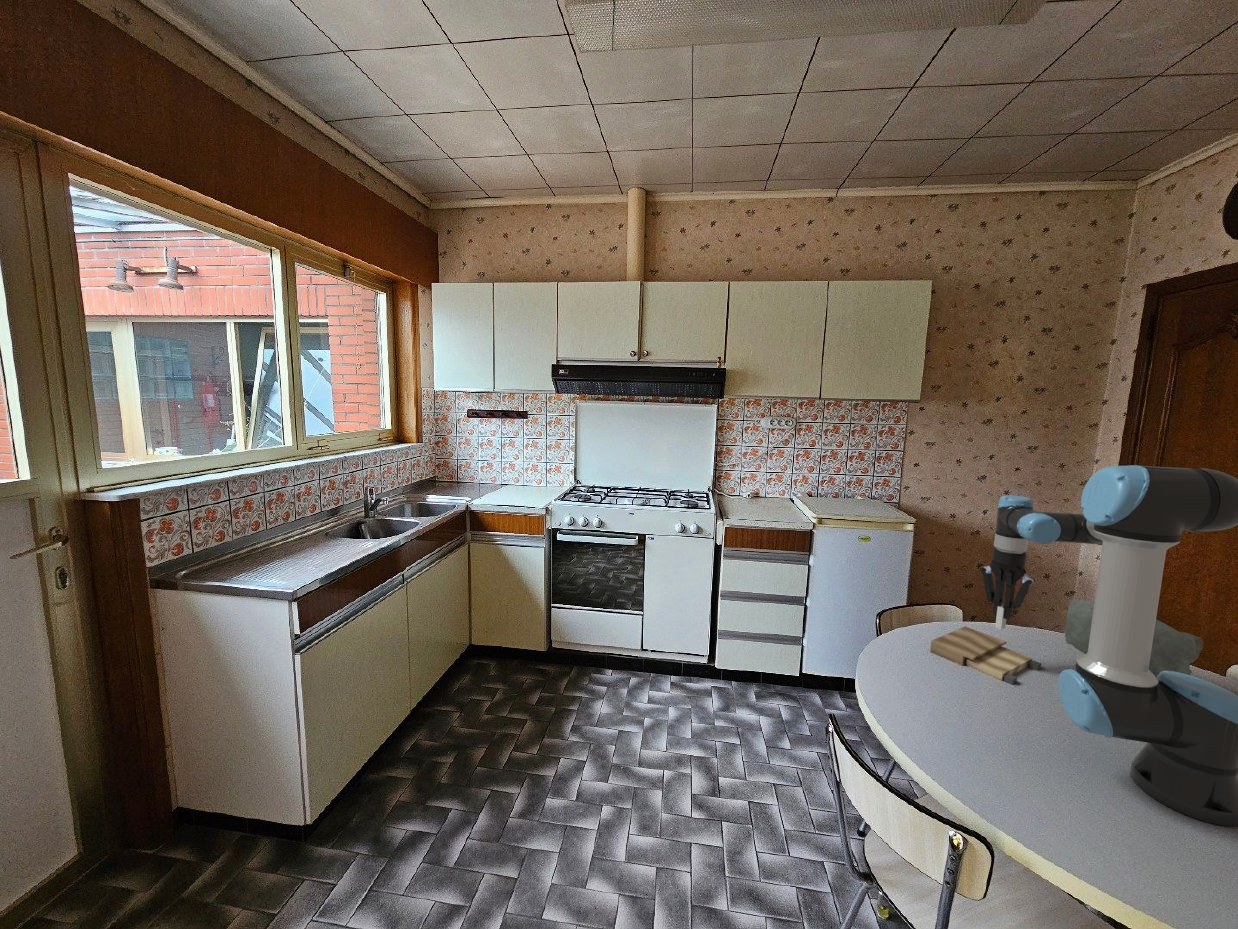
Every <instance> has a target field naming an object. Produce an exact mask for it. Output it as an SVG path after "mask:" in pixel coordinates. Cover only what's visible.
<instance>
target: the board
mask: <svg viewBox="0 0 1238 929" xmlns="http://www.w3.org/2000/svg"><path fill="white" fill-rule="evenodd" d="M1004 645H1007V640H1005V639H1001V638H998V637H997V636H996V637H995V636H994V635H990V634H987V633H984V632H982V631H980V630H976V629H974V628H972V627H968V626H963V627H960V628H957V629H956V630H954V631H951V632H948V633H946V634H944V635H942V636H939V637H936V638H934V639H932V640H931V641H930V650H929V653H931V654H934V655H937V656H939V657H941V656H942V657H941V658H943V657H944V658H943V659H946V660H947V661H951V662H953V663H955V662H957V663H958V665H960V666H964V665H966V664H965V663H966V662H967V659H968V658H969V659H972V660H974V659H976V658H978V657H980V656H982V655H984V654H986V653H988V652H990V651H992V650H994V649H996V648H998V647H1000V646H1002V647H1003V646H1004ZM957 663H956V664H957Z"/></svg>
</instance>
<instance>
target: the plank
mask: <svg viewBox="0 0 1238 929" xmlns="http://www.w3.org/2000/svg"><path fill="white" fill-rule="evenodd" d="M1031 661H1033V657H1031V656H1028V655H1025V654H1024V653H1023V654H1022V653H1020V652H1017V651H1014V650H1012V649H1009V648H1008V647H1007V648H1006V647H1004V646H1003V645H1002V646H1000V647H998V648H996V649H994V650H992V651H990V652H988V653H986V654H984V655H982V656H980V657H978V658H976V659H974V660H972V659H969V658H968V659H967V662H966V664H965V665H967V666H966V667H968V666H969V667H968V668H970V667H971V669H972V670H973V669H974V670H975V669H976V670H975V671H977V670H978V672H980V671H981V672H980V673H982V674H985V675H986V676H989V675H990V676H989V677H991V676H993V677H992V678H994V679H996V680H999V681H1001V682H1002V681H1004V676H1006V675H1007V674H1010V675H1013V676H1014V675H1015V674H1017V673H1019V672H1021V671H1023V670H1025V669H1026V668H1029V662H1031ZM1022 669H1023V670H1022ZM1020 670H1021V671H1020Z"/></svg>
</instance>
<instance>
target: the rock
mask: <svg viewBox="0 0 1238 929" xmlns="http://www.w3.org/2000/svg"><path fill="white" fill-rule="evenodd" d="M1094 602H1095V600H1092V601H1087V600H1081V599H1077V598H1076V599H1072V600H1071V601H1069V603H1068V609H1067V615H1066V620H1065V627H1064V628H1065V630H1064V637H1065V639H1064V640H1065V642H1066V644H1067V645H1070V646H1073V648H1075V649H1076V650H1078V651H1079V652H1080V653H1081V652H1082V653H1083V655H1084V654H1086V653H1088V647H1089V639H1090V632H1091V624H1092V617H1093V609H1094ZM1203 647H1204V641H1203V639H1202V638H1201V637H1200V636H1199V637H1198V636H1196V635H1194V634H1190V633H1189V632H1183V631H1178V630H1176V629H1175V628H1173V627H1171V626H1170V625H1168V624H1166V623H1164V622H1161V621H1160V620H1158V619H1157V618H1156V623H1155V629H1154V636H1153V643H1152V649H1151V656H1150V663H1149V671H1150V672H1151V673H1152V674H1153V675H1154V676H1155V677H1156V678H1157V675H1159V673H1160V672H1162V671H1174V672H1179V673H1183V674H1187V675H1191V674H1192V673H1193V672H1192V670H1191V669H1190V665H1191V663H1194V662H1195V661H1196V660H1197V659H1198V658H1199V656H1200V654H1201V652H1202V650H1203V649H1204V648H1203ZM1157 679H1158V678H1157Z"/></svg>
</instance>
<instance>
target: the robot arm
mask: <svg viewBox="0 0 1238 929" xmlns="http://www.w3.org/2000/svg"><path fill="white" fill-rule="evenodd" d="M1080 507H1081V509H1083V510H1082V513H1070V512H1069V513H1065V512H1050V511H1038V510H1034V500H1033V499H1032V498H1031V497H1026V496H1022V495H1013V494H1012V495H1011V494H1009V495H1007V494H1006V495H1002V496H1000V498H999V501H998V506H997V515H996V523H995V526H996V527H995V533H994V540H993V546H994V548H993V549H992V557H991V560H992V561H991V562H990V564H989V565H987V566H986V565H985V566H982V567H979V570H980V572H981V574H982V575H983V582H984V588H985V596H986V600H987V601H988V602H991V603H992V604H993V611H992V612H993V613H992V614H993V616H996V617H995V618H996V619H995V625H994V626H995V629H997V630H1000V631H1001V630H1003V629H1006V627H1007V620H1010V619H1011V617H1012V610H1016V609H1018V608H1020V607H1021V606H1022V604H1023V602H1024V599H1025V598H1026V596H1027V594H1028V591H1029V589H1030V588H1031V586H1032V585H1033V584H1035V583H1036V580H1035V578H1031V577H1030V576H1029V575H1028V574H1027V571H1026V562H1027V553H1026V552H1027V551H1028V546H1029V542H1032V543H1035V544H1039V545H1048V544H1051V543H1053V542H1055V543H1057V542H1060V543H1073V544H1076V543H1077V544H1087V545H1088V544H1089V545H1097V546H1101V552H1100V558H1099V559H1100V560H1099V565H1098V566H1099V567H1098V574H1097V581H1096V582H1097V583H1096V590H1095V597H1094V601H1095V602H1094V609H1093V617H1092V624H1091V632H1090V639H1089V647H1088V653H1086V654H1084V653H1083V654H1081V655H1079V656H1077V657H1076V662H1075V668H1074V669H1071V668H1068V669H1063V670H1062V671H1061V672H1060V673H1059V675H1058V679H1057V680H1058V681H1057V689H1058V693H1059V698H1060V700H1061V704H1062V707H1063V708H1064V710H1065V713H1066V715H1067V716H1068V717H1069V719H1070V720H1071V721H1072V723H1073V724H1074V725H1075V726H1076V727H1077V728H1079V729H1081V730H1082V731H1083V732H1086V733H1088V734H1094V735H1099V736H1103V737H1105V738H1108V739H1109V738H1111V739H1112V738H1114V739H1115V738H1116V739H1120V740H1121V739H1122V740H1129V741H1134V742H1135V741H1136V742H1141V743H1146V744H1145V745H1144V746H1143V747H1142V749H1141V750H1140V751H1139V752H1138V753H1137V755H1136V756H1135V757H1134V758H1133V760H1132V762H1131V763H1130V771H1129V775H1130V778H1131V780H1132V781H1133V782H1134V783H1135V784H1136V786H1137V787H1139V789H1141V790H1142V791H1143V792H1145V793H1146V795H1148V796H1150V797H1151V798H1153V799H1155V801H1157V802H1158V803H1160V804H1163V805H1164V806H1167V807H1168V808H1170V809H1172V810H1174V811H1176V812H1179V813H1181V814H1183V815H1185V816H1188V817H1191V818H1193V819H1196V820H1198V821H1199V820H1200V821H1203V822H1206V823H1210V824H1213V825H1218V826H1223V827H1224V826H1225V827H1235V826H1236V827H1237V826H1238V695H1236V694H1235V693H1233V692H1231V691H1229V690H1228V689H1226V688H1224V687H1222V686H1220V685H1217V684H1215V683H1213V682H1210V681H1207V680H1205V679H1202V678H1199V677H1196V676H1194V675H1191V674H1190V675H1187V674H1183V673H1179V672H1174V671H1162V672H1160V673H1159V675H1157V678H1156V677H1155V676H1154V675H1153V674H1152V673H1151V672H1150V671H1149V663H1150V656H1151V649H1152V643H1153V636H1154V629H1155V623H1156V619H1157V615H1158V607H1159V602H1160V596H1161V595H1160V594H1161V587H1162V580H1163V576H1164V575H1163V574H1164V569H1165V568H1164V567H1165V562H1166V555H1167V551H1168V549H1170V548H1172V547H1175V546H1176V545H1179V544H1180V543H1181V538H1182V532H1183V531H1188V532H1190V533H1209V532H1215V531H1224V530H1228V529H1229V530H1230V529H1232V528H1234V527H1236V526H1238V478H1236V477H1235V476H1232V475H1230V474H1227V473H1226V472H1222V471H1220V470H1217V469H1210V468H1202V467H1200V468H1199V467H1174V466H1173V467H1171V466H1170V467H1169V466H1168V467H1167V466H1152V465H1149V466H1148V465H1146V466H1145V465H1137V464H1135V465H1133V464H1131V465H1111V466H1110V465H1109V466H1107V467H1103V468H1101V469H1099V470H1098V471H1096V472H1095V473H1094V474H1093V475H1092V476H1091V477H1090V478H1089V479H1088V481H1087V482H1086V484H1085V486H1084V488H1083V490H1082V493H1081V500H1080ZM992 573H993V574H994V576H995V585H994V580H993V579H994V578H993V574H992ZM1019 580H1021V582H1022V584H1021V585H1020V587H1019V589H1018V591H1017V594H1016V596H1015V591H1016V586H1017V583H1018V581H1019ZM1005 586H1006V587H1005ZM1004 592H1005V593H1004ZM1004 595H1005V596H1004ZM1003 600H1004V601H1003Z"/></svg>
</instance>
